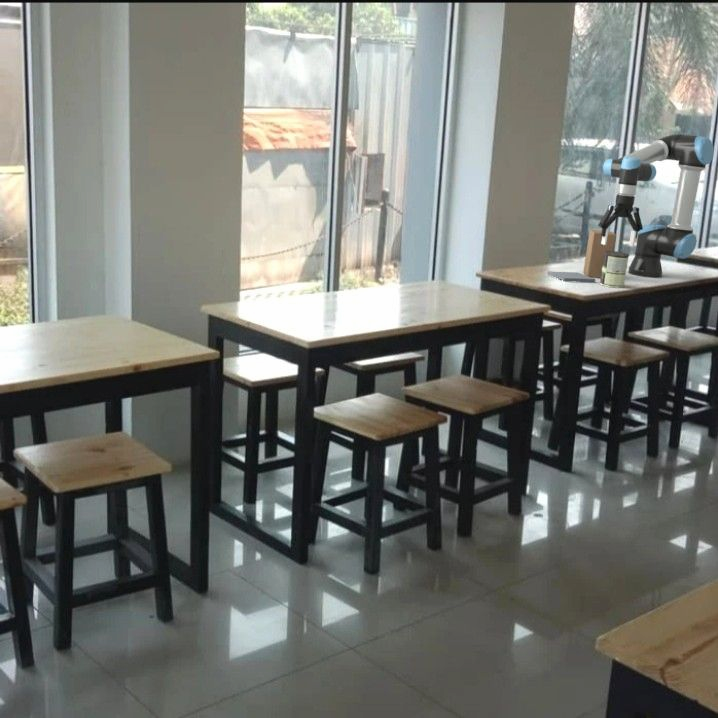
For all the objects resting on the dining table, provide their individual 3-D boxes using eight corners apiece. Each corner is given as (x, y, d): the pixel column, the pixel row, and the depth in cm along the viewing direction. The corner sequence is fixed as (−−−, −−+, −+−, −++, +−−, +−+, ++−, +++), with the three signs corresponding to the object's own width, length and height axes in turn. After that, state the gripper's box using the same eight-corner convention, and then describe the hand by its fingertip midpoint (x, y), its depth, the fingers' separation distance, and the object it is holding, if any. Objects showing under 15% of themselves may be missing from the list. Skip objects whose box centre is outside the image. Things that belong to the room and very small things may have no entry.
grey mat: (577, 275, 461) (577, 272, 461) (594, 282, 447) (595, 279, 447) (547, 274, 456) (547, 271, 456) (564, 281, 442) (564, 278, 442)
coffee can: (594, 283, 445) (599, 250, 441) (610, 282, 451) (615, 250, 447) (612, 288, 437) (617, 255, 433) (629, 287, 443) (634, 255, 439)
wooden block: (609, 279, 460) (616, 234, 455) (587, 277, 460) (593, 232, 455) (604, 275, 470) (611, 231, 465) (582, 273, 470) (589, 229, 465)
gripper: (646, 195, 442) (637, 245, 447) (595, 191, 434) (587, 242, 439) (656, 198, 435) (647, 248, 440) (604, 193, 427) (596, 245, 432)
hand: (617, 245), depth 439 cm, fingers open, 13 cm apart
